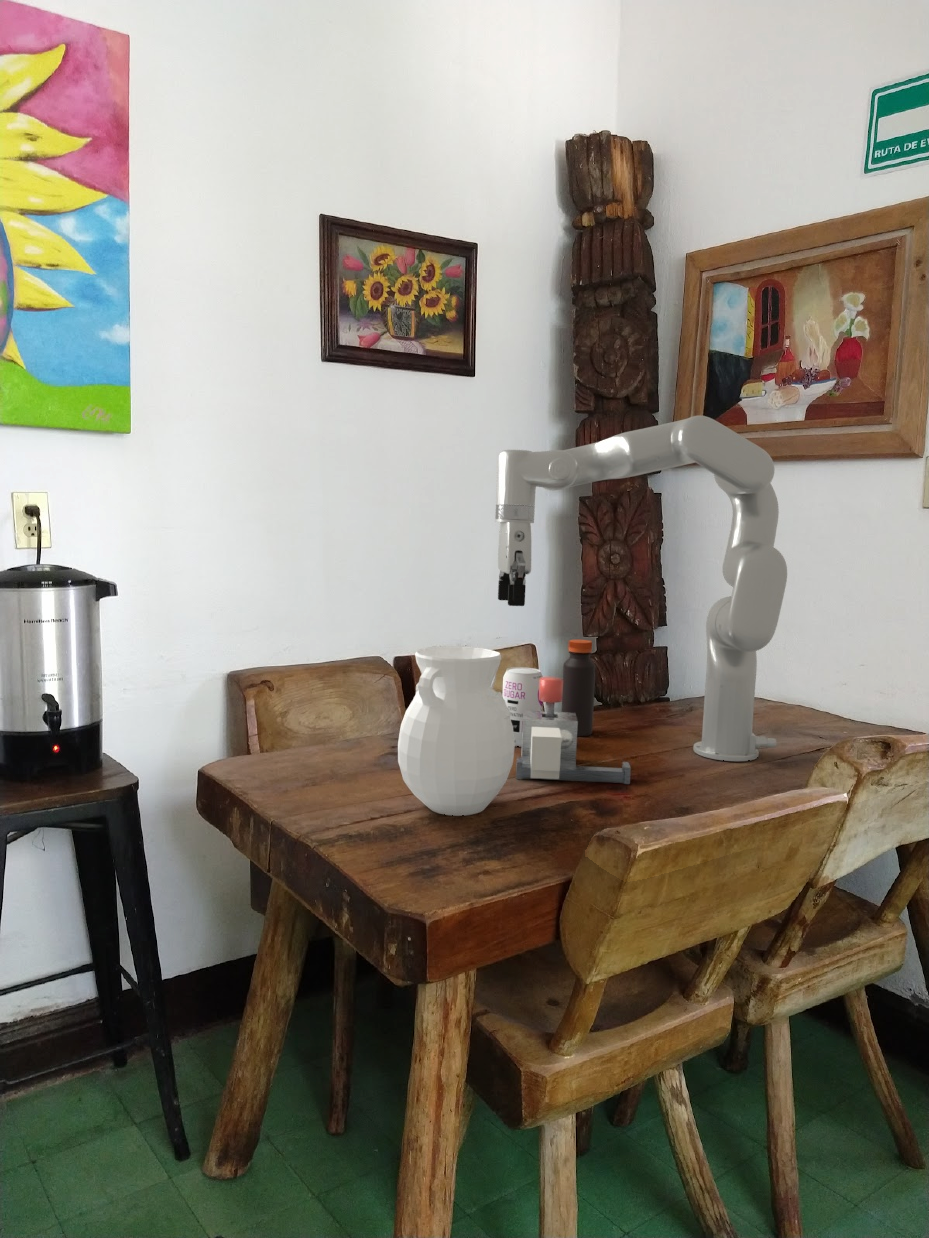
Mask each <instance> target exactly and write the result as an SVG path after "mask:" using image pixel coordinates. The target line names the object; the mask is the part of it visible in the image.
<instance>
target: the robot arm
mask: <svg viewBox="0 0 929 1238" xmlns="http://www.w3.org/2000/svg"><path fill="white" fill-rule="evenodd" d="M694 463H696V464H698V465H699V466H700V467H702V468H703V469H705V470H707V471H708V472H710V473H712V474H713V477H714V480H715V483H716V484H717V485H718V487H719V488H720V489H721V490H722V491H723V492H724V493H725V494H726V495H727V497H728V498H729V501H730V503H731V506H732V507H731V508H732V518H731V525H730V526H731V527H730V531H729V537H728V541H727V545H726V549H725V554H724V559H723V563H722V577H723V578H724V580H725V582H726V583H727V584H728V585H730V586H731V587H732V592H731V595H729V596H725V597H723V598H720V599H718V600H717V601H716V602H714V603H713V604H712V606H711V607H710V609H709V610H708V613H707V616H706V622H705V623H706V625H705V627H706V628H705V629H706V630H705V632H706V650H707V651H706V674H705V683H704V684H705V685H704V687H705V688H704V698H703V699H704V701H703V716H702V717H703V718H702V731H701V732H702V734H701V740H700V741H697V742H695V743H694V744H693V752H694V753H695V754H697V755H699V756H701V757H704V758H707V759H712V760H718V761H723V760H724V761H723V762H749V761H748V760H750V761H755V760H756V759H758V758H757V757H759V755H760V753H759V749H760V748H766V749H776V748H777V739H776V737H775V738H773V737H772V738H771V737H770V738H769V737H767V736H763V735H762V736H757V735H756V734H755V733H754V732H753V724H754V723H753V722H754V711H755V710H754V709H755V708H754V707H755V694H756V680H757V670H758V668H757V667H758V663H757V662H758V660H757V659H758V658H757V651H759V650H761V649H763V648H765V647H767V645H768V644H770V642H771V641H772V639H773V637H774V635H775V633H776V630H777V627H778V622H779V618H780V613H781V608H782V605H783V600H784V596H785V592H786V586H787V579H788V566H787V563H786V559H785V557H784V556H783V554H782V553H781V552H780V550H778V549H777V548H776V547H774V546H775V542H776V536H777V529H778V524H779V513H780V512H779V508H780V507H779V501H778V497H777V495H776V492H775V490H774V488H773V486H772V481H773V479H774V476H775V464H774V460H773V458H772V457H771V456H770V454H769V453H768V452H767V451H766V450H765V449H763V448H762V447H760V446H759V445H757V444H755V443H754V442H752V441H751V440H749V439H747V438H746V437H744V436H742V435H741V434H738V432H736V431H734V430H732V429H731V428H729V427H727V426H725V425H724V424H722V423H720V422H719V421H717V420H715V419H714V418H711V417H709V416H705V415H699V414H698V415H692V416H690V417H688V418H685V419H681V420H680V419H679V420H677V421H672V422H668V423H666V422H665V423H663V424H659V425H653V426H649V427H644V428H639V429H635V430H630V431H625V432H622V433H619V434H618V433H617V434H616V435H612V436H610V437H608V438H605V439H603V440H600V441H596V442H593V443H589V444H585V445H580V446H576V447H572V448H568V449H563V450H561V449H555V450H544V451H543V450H541V451H531V450H527V449H526V450H525V449H505V450H502V451H500V453H499V454H498V457H497V472H496V473H497V474H496V497H495V519H494V521H495V522H497V523H499V522H500V524H499V533H498V553H497V568H498V570H499V575H498V579H499V580H498V587H497V588H498V589H497V591H498V592H497V600H499V601H507V605H508V606H510V607H524V606H525V604H526V584H527V582H526V575H530V574H531V572H532V525H531V524H535V508H536V506H535V505H536V488H537V487H538V488H543V489H545V490H546V491H560V490H561V491H562V490H564V489H568V488H571V487H576V486H580V485H585V484H590V483H595V482H599V481H606V480H618V479H626V478H627V479H628V478H630V477H631V478H632V477H637V476H641V475H644V474H650V473H653V472H658V471H663V470H667V469H673V468H678V467H681V466H686V465H690V464H694Z"/></svg>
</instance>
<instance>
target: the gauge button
mask: <svg viewBox="0 0 929 1238" xmlns="http://www.w3.org/2000/svg"><path fill="white" fill-rule="evenodd" d="M562 694H563V678H561V677H555V676H554V677H553V676H543V677H542V678H540V681H539V700H540V701H542V703H545V712H546V716H545V717H548V718H554V712H555V706H556V705H555V703H562Z"/></svg>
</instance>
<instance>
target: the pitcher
mask: <svg viewBox="0 0 929 1238" xmlns="http://www.w3.org/2000/svg"><path fill="white" fill-rule="evenodd" d="M414 653H415V654H414V656H415V661H416V665H417V666H418V668H419V671H420V674H421V675H420V677H419V680H418V682H417V684H416V686H415V695H414V696H413V699H412V700H411V702H410V704H409V706H408V707H407V708H406V710H405V713H404V716H403V719H402V721H401V723H400V729H399V735H398V741H397V763H398V765H399V770H400V773H401V775H402V780H403V782H404V783H405V785H406V786H407V787H408V789H409V790H410V791H411V793H412V794H413V795H414V796H415V797H416V798H417V799H418V800H419V801H420V802H422V804H424V805H425V806H426V807H427V808H428V809H429V810H431V811H432V812H434V813H437V814H440V815H444V814H445V815H446V816H452V815H453V816H455V817H460V816H462V815H464V816H471V815H476V814H478V813H481V812H483V811H484V810H485V809H486V808H487V807H488V806H489V805H490V804H491V802H492V801H494V799H495V798H496V797H498V794H499V793H500V791H501V789H502V788H503V787H504V785H505V784H506V782H507V780H508V778H509V774H510V772H511V770H512V767H513V764H514V757H515V756H514V755H515V747H516V746H515V743H514V733H513V726H512V722H511V719H510V716H511V715H510V710H509V709H508V707H507V706H506V703H505V700H504V699H503V696H502V695H503V693H502V692H501V691H496V690H495V689H494V685H495V683H496V680H497V672H498V670H499V667H500V664H501V661H502V655H501V652H499V651H495V650H493V649H489V648H484V647H474V646H466V645H465V646H463V645H462V646H461V645H455V646H454V645H449V646H448V645H447V646H446V645H443V646H442V645H439V646H437V645H436V646H428V647H423V648H420V649H417V650H416V652H414ZM445 815H444V816H445ZM453 816H452V817H453Z"/></svg>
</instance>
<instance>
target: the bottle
mask: <svg viewBox="0 0 929 1238" xmlns="http://www.w3.org/2000/svg"><path fill="white" fill-rule="evenodd" d="M568 653H569V657H568V658H567V659H566V661H564V663H563V669H562V679H563V694H562V702H561V711H560V712H568V713H575V714H576V717H577V721H578V726H577V737H588V736H590V735H592V734H593V726H594V724H593V723H594V721H593V720H594V706H595V704H594V701H595V684H596V664H595V663H594V662H593V660H592V659H591V655H592V653H593V641H592V640H589V639H569V640H568Z"/></svg>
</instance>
